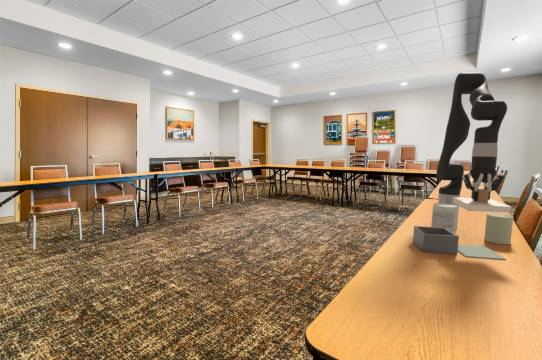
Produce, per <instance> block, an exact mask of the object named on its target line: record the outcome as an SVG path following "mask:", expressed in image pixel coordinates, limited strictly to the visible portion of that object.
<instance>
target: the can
mask: <svg viewBox="0 0 542 360" xmlns="http://www.w3.org/2000/svg"><path fill="white" fill-rule="evenodd" d="M513 222H514V216H513V215H510V214H509V215H508V214H504V213H499V212H486V219H485V229H484V238H483V240H484V241H485V240H486V242H488V241H489V242H488V243H491V242H492V244H495V243H497V245H502V244H509V245H511V244H512V233H513V232H512V231H513ZM510 243H511V244H510Z"/></svg>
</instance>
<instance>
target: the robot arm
mask: <svg viewBox="0 0 542 360" xmlns="http://www.w3.org/2000/svg"><path fill="white" fill-rule="evenodd" d="M463 95H469V98H468V99H469V103H470V105H471V110H470V116H471V118H472V119H473V120H475V121H491V122H490V124H489V125H487V126H481V127H477V128H476V129H475V130H474V136H473V137H474V139H473V145H472V149H471V152H472V153H471V161H470V162H471V164H470V165H471V166H470V167H471V168H470V170H469V172H467V173H465V172H464V171H465V169H464V164H463V163H461V162H453V161H451V159H452V157H453V155H454V153H455V152H456V151H457V150H458V149H459V148H460V147H461V146H462V145H463V144H464V142H466V140H467V139H468V137H469V136H468V135H469V133H470V128H471V121H470V118H469V116H468V114H467V112H466V111H465V109H464V105H463V101H462V96H463ZM450 107H451V108H450V110H449V111H450V112H449V116H448V119H447V120H448V121H447V124H446V125H447V126H446V129H445V135H444V140H443V145H442V151H441V154H440V157H439V161H438V163H437V168H436V177H437V179H438V180H440V181H450V182H449V183H448V184H446V185H444V186H440V187H439V189H438V195H437V197H438V199H437V203H446V204H453V205H456V204H455V203H453V197H460V198H461V191H462V187H463V183H464V186H465V188H466V189H467V190H469V191H471V197H470V198H472V199H473V201H477V200H478V192H477V191H478V188H480V186H481V183H482V185H483V188H485V189H488V190H489V197H488V200H490V199H491V193H492V191H493V192H494V191H497V190H498V188H499V187H500V186H501V183H502V182H503V180H504V179H505V176H504V175H500V174H498V173H497V171H496V168H497V162H498V161H497V160H498V155H499V153H498V149H499V148H498V141H499V140H498V139H499V133H500V128H501V125H502V123H503V121H504V118H505V116H506V115H507V111H508V105H507V103H506V101H504V100H500V99H499V100H495V98H494V96H493V94H491V92H490V90H489V85H488V81H487V77H486V75H485V74H484V73H483V72H460V73H458V74H457V76H456V77H455V80H454V85H453V92H452V99H451V106H450ZM450 161H451V162H450ZM471 178H472V181H471ZM493 179H494V180H493ZM456 206H457V219H456V229H458V222H459V210H460V206H458V205H456Z"/></svg>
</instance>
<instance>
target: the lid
mask: <svg viewBox="0 0 542 360" xmlns="http://www.w3.org/2000/svg"><path fill="white" fill-rule="evenodd" d="M477 192H478V200H477V201H473V199H472V198H471V197H461V196H460V197H453V203H455V204H456V205H458V206H459V208H463V209H465V210H467V211H468V212H481V213H482V212H486V213H502V214H504V213H506V214H507V213H508V214H510V213H512V206H510V205H508V204H505V203H503V202H500V201H497V200H494V199H492V198H490V200H488V197H489V190H488V189H485V188H484V187H479V188H478V191H477Z"/></svg>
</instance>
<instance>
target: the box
mask: <svg viewBox="0 0 542 360" xmlns="http://www.w3.org/2000/svg"><path fill="white" fill-rule="evenodd" d="M412 237H413V238H412V242H413V244H414V245H415V246H416V247H417V249H419V250H420V251H421V252H422V253H430V254H431V253H432V254H434V253H435V254H446V255H458V244H459V238H460V236H459V235H457V233H455V234H454V233H453V232H451V231H449V230H448V229H446V228H439V227H431V226H423V225H422V226H419V225H414V226H413V236H412Z"/></svg>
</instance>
